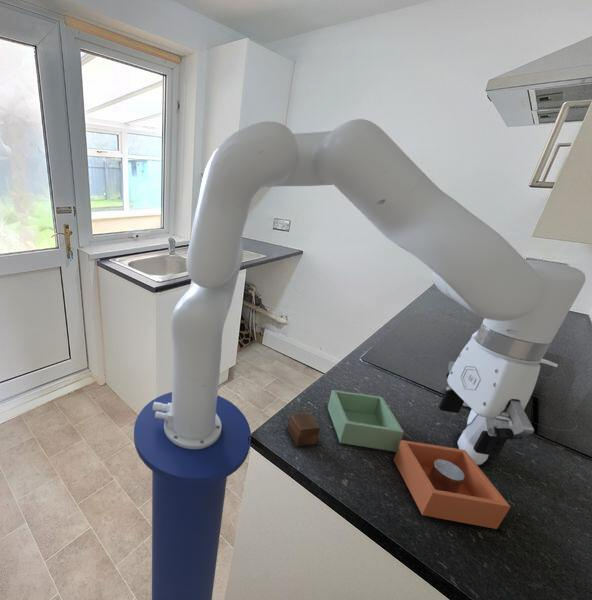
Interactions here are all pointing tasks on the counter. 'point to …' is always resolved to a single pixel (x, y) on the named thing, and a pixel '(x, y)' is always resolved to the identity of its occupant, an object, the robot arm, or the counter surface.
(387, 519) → the counter surface
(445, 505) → the right bin
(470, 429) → the soap bottle
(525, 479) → the counter surface
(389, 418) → the left bin
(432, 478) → the steel cylinder
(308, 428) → the walnut block
